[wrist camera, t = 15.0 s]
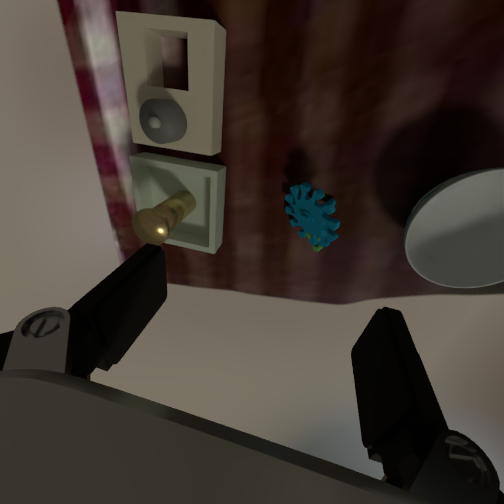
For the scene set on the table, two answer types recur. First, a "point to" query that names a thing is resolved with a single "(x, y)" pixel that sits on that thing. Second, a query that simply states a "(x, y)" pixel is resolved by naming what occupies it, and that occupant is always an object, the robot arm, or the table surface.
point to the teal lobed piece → (312, 215)
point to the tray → (189, 179)
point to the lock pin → (163, 217)
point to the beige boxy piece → (171, 100)
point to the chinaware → (459, 231)
